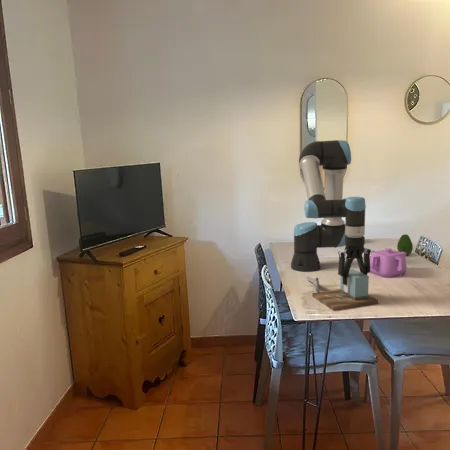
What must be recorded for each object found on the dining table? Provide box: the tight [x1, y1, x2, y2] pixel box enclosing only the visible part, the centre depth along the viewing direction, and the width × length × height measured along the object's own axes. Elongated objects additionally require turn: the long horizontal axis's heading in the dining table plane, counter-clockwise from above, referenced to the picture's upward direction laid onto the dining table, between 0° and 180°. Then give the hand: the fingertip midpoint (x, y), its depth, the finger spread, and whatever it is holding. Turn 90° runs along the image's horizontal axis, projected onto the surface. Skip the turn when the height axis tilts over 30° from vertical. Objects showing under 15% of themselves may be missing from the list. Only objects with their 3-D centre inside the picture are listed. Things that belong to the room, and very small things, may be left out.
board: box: [311, 288, 379, 311], centre depth 175 cm, size 17×20×2 cm
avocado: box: [396, 233, 414, 257], centre depth 238 cm, size 8×8×12 cm
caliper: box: [305, 276, 320, 293], centre depth 195 cm, size 20×1×6 cm, turn 3°
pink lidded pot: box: [369, 247, 408, 279], centre depth 207 cm, size 17×17×12 cm
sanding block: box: [339, 268, 370, 300], centre depth 175 cm, size 11×6×9 cm, turn 16°
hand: (353, 290), depth 176 cm, fingers closed on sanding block, 6 cm apart
